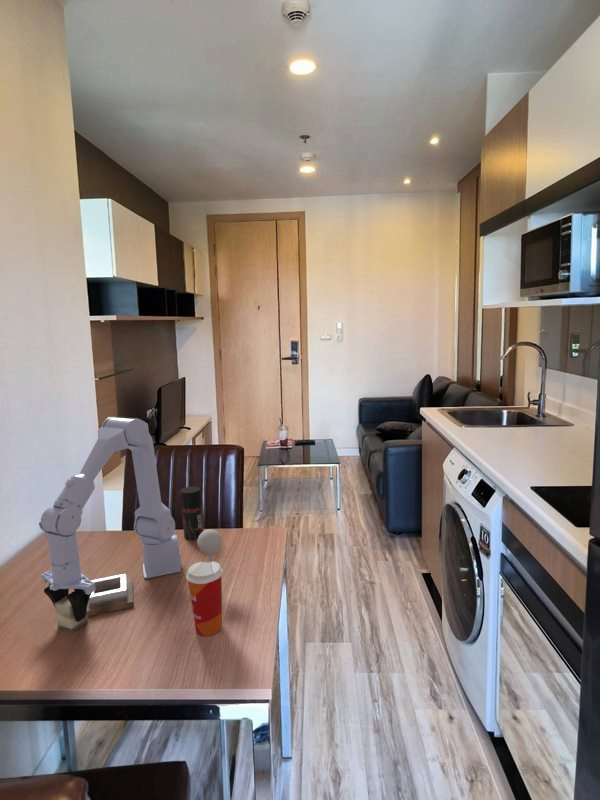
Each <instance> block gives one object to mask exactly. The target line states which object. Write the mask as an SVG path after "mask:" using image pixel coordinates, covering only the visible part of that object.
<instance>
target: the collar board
mask: <svg viewBox="0 0 600 800" xmlns="http://www.w3.org/2000/svg"><path fill="white" fill-rule="evenodd" d="M90 581H92V582H95V588H96V590H95V591H94V592H92V593H91V596H90V598H89V601H88V605H87V615H88V617H92V616H95V615H96V616H97V615H102V614H105V613H109V612H113V611H119V610H120V611H121V610H124V609H129V608H133V607H134V605H135V603H134V591H133V590H134V589H133V578H132V577H131V578H127V574H126V573H123V574H116V575H112V576H107V577H102V578H96V579H91V580H90Z"/></svg>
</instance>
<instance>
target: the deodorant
mask: <svg viewBox="0 0 600 800" xmlns="http://www.w3.org/2000/svg"><path fill="white" fill-rule="evenodd" d="M179 492H180V493H179V494H180V502H181V503H180V504H181V514H182V516H181V517H182V525H183V537H184V539H185V540H188V541H195V540H198V537H199V535H200V534H201V533H202V532H203V531H204V522H203V508H202V497H201V488H200V487H199V486H187V487H183V488H182V489H180V491H179Z"/></svg>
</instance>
